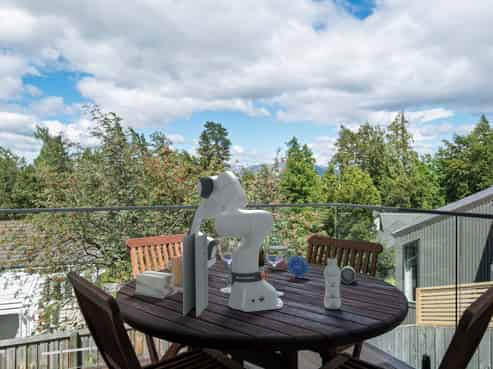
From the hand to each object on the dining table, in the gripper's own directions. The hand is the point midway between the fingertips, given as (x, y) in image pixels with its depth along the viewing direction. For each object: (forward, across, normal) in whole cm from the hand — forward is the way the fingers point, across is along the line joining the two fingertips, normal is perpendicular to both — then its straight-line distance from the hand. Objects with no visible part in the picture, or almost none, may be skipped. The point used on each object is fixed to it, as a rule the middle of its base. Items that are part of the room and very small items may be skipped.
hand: (175, 268), depth 198 cm
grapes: (-43, +46, +9) cm, 64 cm away
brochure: (+25, +32, +9) cm, 41 cm away
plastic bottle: (-2, +78, +9) cm, 79 cm away
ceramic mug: (-48, +70, +9) cm, 85 cm away
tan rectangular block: (0, 0, +7) cm, 7 cm away
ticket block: (+8, 0, +9) cm, 12 cm away
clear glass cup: (-62, +26, +9) cm, 68 cm away
